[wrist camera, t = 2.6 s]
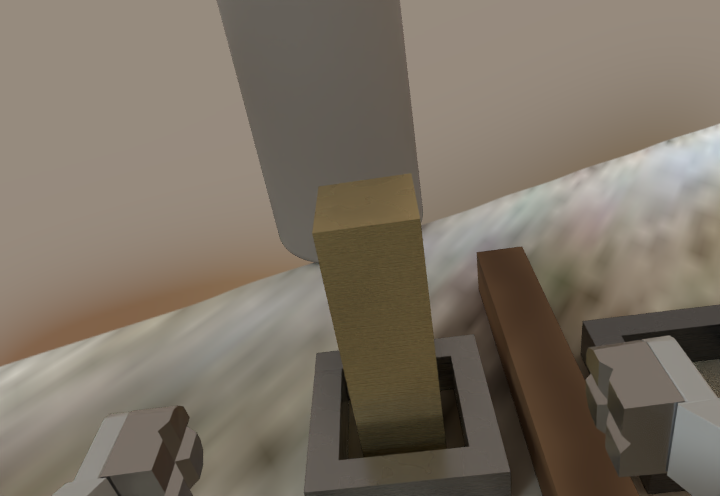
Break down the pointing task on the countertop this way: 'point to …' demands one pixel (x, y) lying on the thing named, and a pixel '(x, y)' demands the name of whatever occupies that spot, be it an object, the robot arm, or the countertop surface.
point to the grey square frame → (418, 469)
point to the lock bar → (381, 311)
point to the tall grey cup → (322, 99)
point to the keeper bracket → (688, 326)
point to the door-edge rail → (545, 382)
